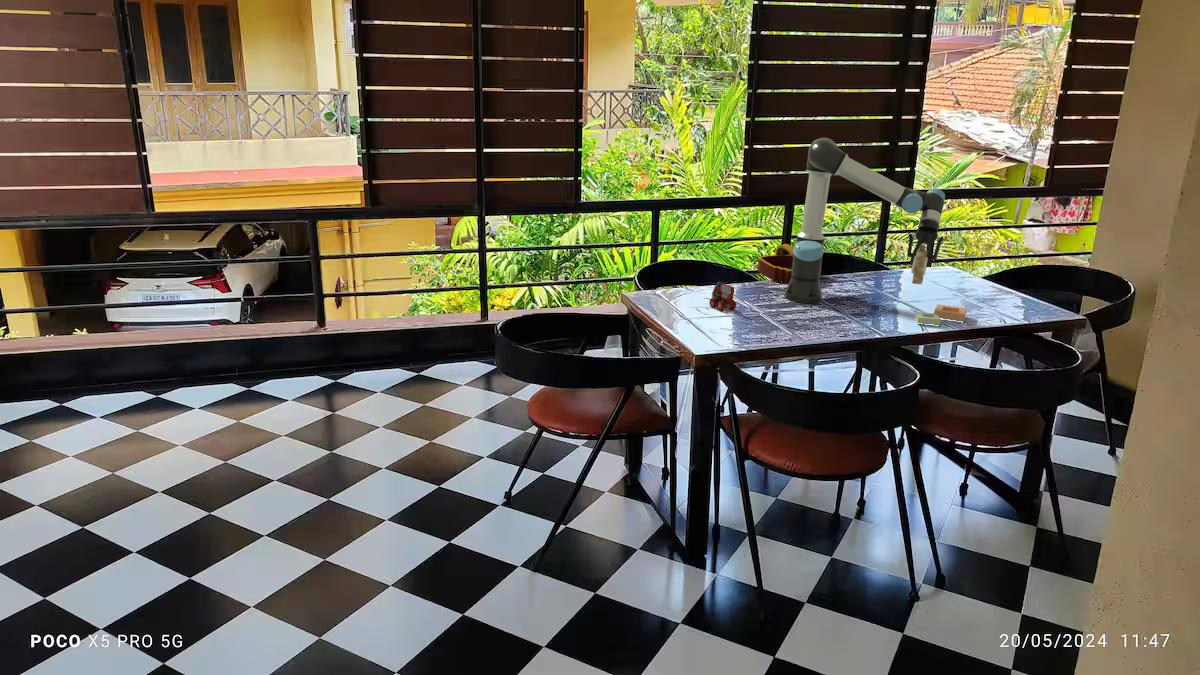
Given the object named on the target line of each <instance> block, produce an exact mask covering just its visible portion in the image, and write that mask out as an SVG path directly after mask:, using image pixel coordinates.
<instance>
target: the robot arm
mask: <svg viewBox="0 0 1200 675" xmlns="http://www.w3.org/2000/svg"><path fill="white" fill-rule="evenodd" d="M807 152H808V153H807V162H806V172H807V173H808V182H807V189H806V196H805V203H804V208H803V216H802V222H801V223H802V224H801V230H800V232H798V233H797V234H796V238H795V244H794V246H793V248H794V251H793V252H794V255H793V264H792V273H791V280H790V282H789V284H787V287H786V289H785V292H784V298H785V299H786V300H788V301H791V302H795V303H801V304H818V303H821V302H822V301H823V300H822V299H823V293H822V288H821V283H820V280H821V272H822V264H823V263H822V262H823V255H824V245H825V236H824V234H823V229H824V228H823V227H824V222H825V216H826V215H825V214H826V208H827V207H826V206H827V202H828V194H829V188H830V183H831V182H830V181H831V177H832V176H840V177H842V178H844V179H845V180H847V181H849V182H851V183H854V184H856V185H857V186H859V187H861V188H863V189H865V190H867V191H868V192H870V193H872V194H874V195H876V196H878V197H880V198H881V199H883V200H884V201H885V200H886V201H887V202H889V203H891V204H893V205H895V206H896V207H898V208H901V209H902V210H904V212H906V213H908V214H917V213H918V212H919V211H920V212H921V214H920V218H919V223H918V228H917V231H915V233H913V234H912V233H910V232H909V234H908V240H909V242H908V248H907V252H906V253H907V257H908V258H910V262H909V263H910V264H909V265H910V266H912V267H911V270H910V271H911V272H910V273H911V274H914V268H915V261H916V254H917V250H920V246H921V245H923V244H924V245H927V257H926V259H925V264H924V268H923V275H924V276H925V275H926V271H927V268H930V267H931V263H932V261H936V260H937V259H938V255H939V252H940V249H941V246H942V244H943V243H944V240H945V239H944V236H939V234H938V231H939V227H940V224H941V218H942V214H943V209H944V205H945V198H946V194H945V192H944V191H942V189H940V188H939V189H937V188H935V189H933V188H930V189H929V190H928V191H927V192H924V191H921V190H916V189H913V188H909V187H907V186H904V185H903V186H902V185H901V184H900V183H897V182H896V181H894V180H892V179H890V178H888V177H886V176H884V175H882V174H880V173H878V172H877V171H875V170H873V169H871V168H869V167H867V166H866V165H863V164H862V163H860V162H859V161H856V160H854V159H852V158H850V156H849V154H848V153H846V152H845V151H843V150H842V149H840V148H839V147H838V145H837V143H836V142H835V140H833V139H832V138H828V137H820V138H817V139H815V140H813V142H811V144H810V146H809V147H808V151H807ZM915 238H916V240H917V243H916V245H915V247H914V249H912V248H913V244H914V243H913V242H914V240H915ZM935 241H936V245H935V249H934V252H933V254H932V243H933V242H935ZM912 250H913V251H912Z"/></svg>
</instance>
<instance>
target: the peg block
mask: <svg viewBox="0 0 1200 675" xmlns="http://www.w3.org/2000/svg"><path fill="white" fill-rule="evenodd" d="M925 249H926V245H925V244H924V245H923V244H922V245H921V246H920V249H919V250H917V254H916V261H915V268H914V273H912V274H913V275H912V280H911V281H912V282H911V283H912V284H914V285H923V281H924V276H925V275H923V268H924V264H925V259H926V257H928V249H927V250H925Z"/></svg>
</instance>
